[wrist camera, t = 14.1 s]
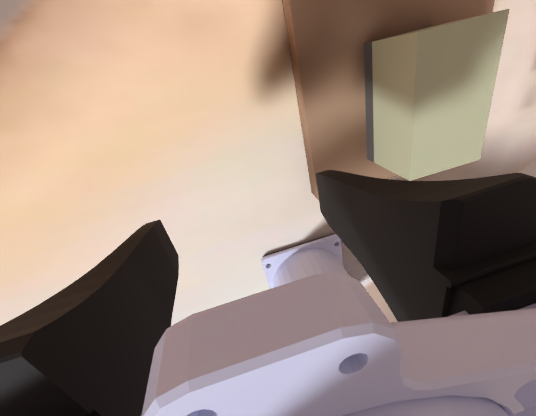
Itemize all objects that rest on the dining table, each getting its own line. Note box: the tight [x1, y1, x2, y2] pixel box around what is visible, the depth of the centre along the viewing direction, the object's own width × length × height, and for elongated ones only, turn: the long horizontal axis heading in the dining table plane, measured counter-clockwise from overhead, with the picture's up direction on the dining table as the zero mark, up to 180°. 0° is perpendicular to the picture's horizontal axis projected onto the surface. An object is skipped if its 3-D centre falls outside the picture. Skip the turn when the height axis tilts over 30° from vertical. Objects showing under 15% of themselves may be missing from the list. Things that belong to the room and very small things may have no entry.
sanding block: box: [364, 9, 509, 181], centre depth 17 cm, size 8×5×5 cm, turn 13°
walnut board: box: [282, 0, 494, 200], centre depth 18 cm, size 18×14×2 cm
